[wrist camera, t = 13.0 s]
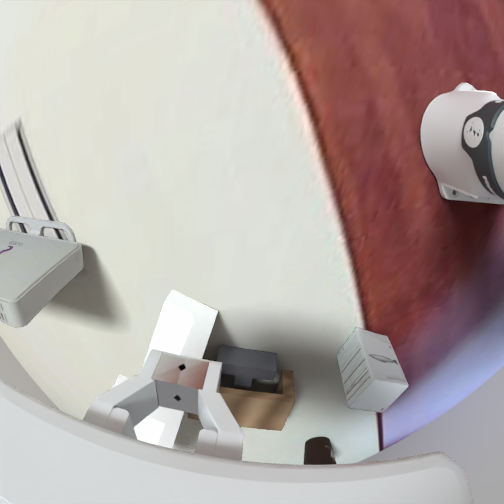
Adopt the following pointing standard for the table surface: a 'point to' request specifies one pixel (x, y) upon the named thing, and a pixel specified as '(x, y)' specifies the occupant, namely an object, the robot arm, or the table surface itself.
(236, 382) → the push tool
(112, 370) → the table surface
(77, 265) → the network device
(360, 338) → the supplement box
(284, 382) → the bench
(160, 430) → the white piece
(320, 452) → the coffee mug
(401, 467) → the robot arm
